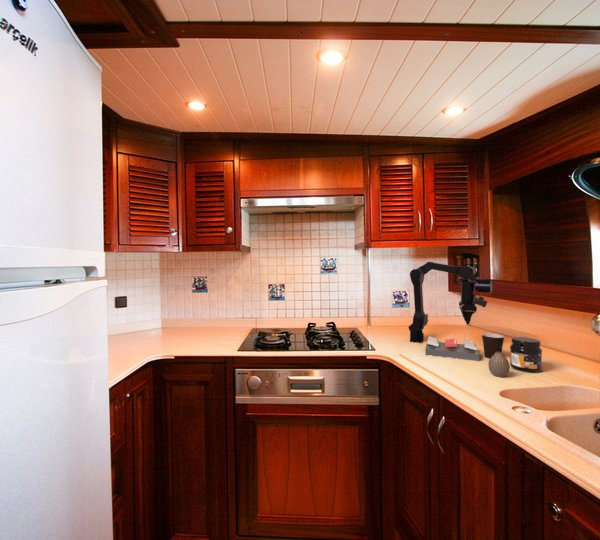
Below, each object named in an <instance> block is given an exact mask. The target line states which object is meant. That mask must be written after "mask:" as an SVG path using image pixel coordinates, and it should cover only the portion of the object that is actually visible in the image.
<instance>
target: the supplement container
mask: <svg viewBox="0 0 600 540" xmlns="http://www.w3.org/2000/svg"><path fill="white" fill-rule="evenodd" d="M541 343H542V341H541V340H539V339H537V338H533V337H532V338H531V337H526V336H525V337H524V336H515V337H512V338H511V344H510V346H509V348H510V350H509V351H510V354H509V355H510V356H509V357H510V358H509V359H510V362H509V365H510V367H511V368H513V369H514V370H516V371H519V372H524V373H531V374H532V373H534V374H536V373H540V372H541V371H542V370H543V368H542V363H543V362H542V361H543V359H542V357H543V355H542V354H543V349H542V348H541V346H542V344H541Z"/></svg>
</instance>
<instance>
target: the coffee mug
mask: <svg viewBox="0 0 600 540" xmlns="http://www.w3.org/2000/svg"><path fill="white" fill-rule="evenodd" d="M481 339H482V346H483V354H484V358H486V359H489V360H490V358H491V357H492V356H493V355H494V354H495V352H501V353H503V347H504V341H505V340H504V339H505V336H504V335H503V334H498V333H491V332H490V333H488V332H486V333H482V334H481Z"/></svg>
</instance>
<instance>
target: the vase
mask: <svg viewBox="0 0 600 540" xmlns="http://www.w3.org/2000/svg"><path fill="white" fill-rule="evenodd" d="M510 367H511V365H510V362H509V360H508V359H507V358H506V356H505V355H504V353H503V352H502V353H501V352H495V354H494V355H493V356H492V357H491V358H490V359H489V361H488V370H489V372H490V374H492V375H493V376H494V377H497V378H505V377H507V376H508V375H509V373H510V371H511V368H510Z"/></svg>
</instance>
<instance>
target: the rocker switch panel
mask: <svg viewBox="0 0 600 540" xmlns="http://www.w3.org/2000/svg"><path fill="white" fill-rule="evenodd" d="M424 351H425V353H424V354H425V356H429V355H432V356H431V357H438V356H441V357H440V358H447V357H451V358H450V359H456V358H458V360H467V361H476V362H480V353H479V350H478V348H477V351H476V350H473V349H469V348H466V347H464V343H457V347H446V346H445V341H444V342H443V341H442V342H441V341H439V345H438V347H437V346H434V345H430V344H427V343H426V345H425V350H424Z"/></svg>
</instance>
